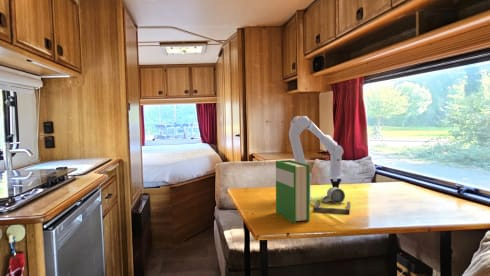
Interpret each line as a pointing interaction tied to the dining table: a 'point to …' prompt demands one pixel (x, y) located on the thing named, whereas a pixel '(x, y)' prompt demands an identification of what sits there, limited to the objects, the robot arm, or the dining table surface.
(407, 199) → the dining table surface
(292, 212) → the hardback book
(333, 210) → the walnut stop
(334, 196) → the ceramic mug
